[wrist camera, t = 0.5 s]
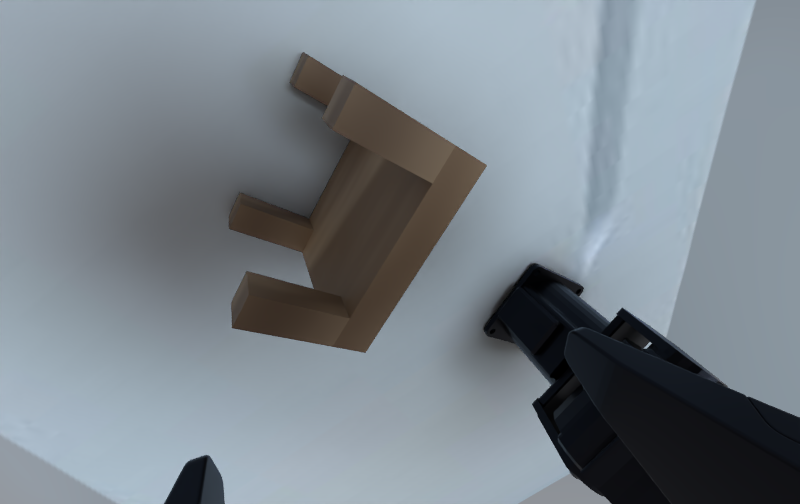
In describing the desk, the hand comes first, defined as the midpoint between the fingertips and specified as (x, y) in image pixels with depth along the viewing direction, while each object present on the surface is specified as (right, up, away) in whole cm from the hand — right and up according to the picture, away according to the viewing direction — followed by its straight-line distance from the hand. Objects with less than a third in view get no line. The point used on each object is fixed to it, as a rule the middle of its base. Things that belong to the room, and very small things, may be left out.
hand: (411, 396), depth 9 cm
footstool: (-4, +8, +9) cm, 13 cm away
